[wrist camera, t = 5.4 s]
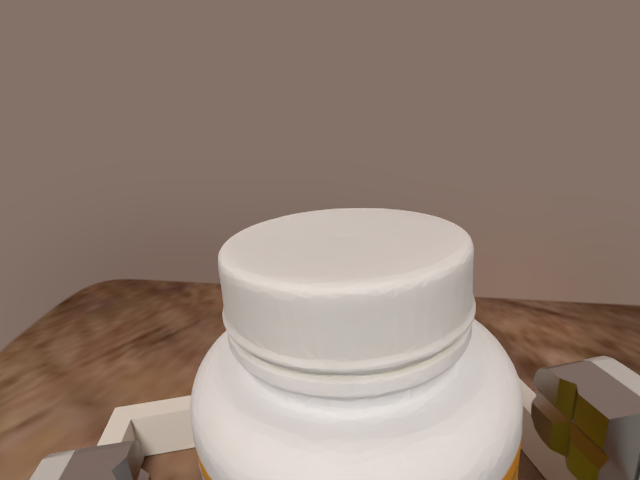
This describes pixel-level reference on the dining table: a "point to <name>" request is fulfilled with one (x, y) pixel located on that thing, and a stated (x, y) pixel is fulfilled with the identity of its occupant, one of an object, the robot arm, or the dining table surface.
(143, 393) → the dining table surface
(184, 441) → the white square frame
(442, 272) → the supplement bottle
